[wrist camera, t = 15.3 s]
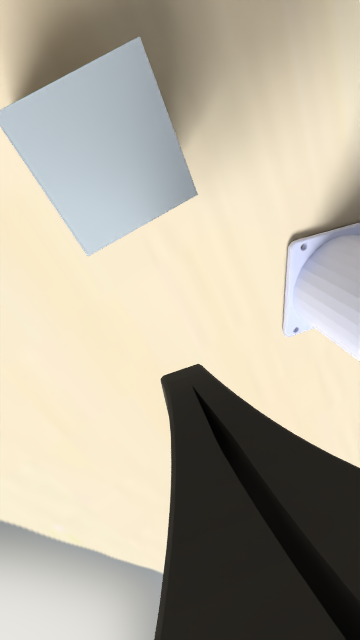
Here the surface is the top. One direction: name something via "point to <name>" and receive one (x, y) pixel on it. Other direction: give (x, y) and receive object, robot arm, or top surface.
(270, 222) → the top surface
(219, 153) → the top surface
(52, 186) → the slate-grey cube
